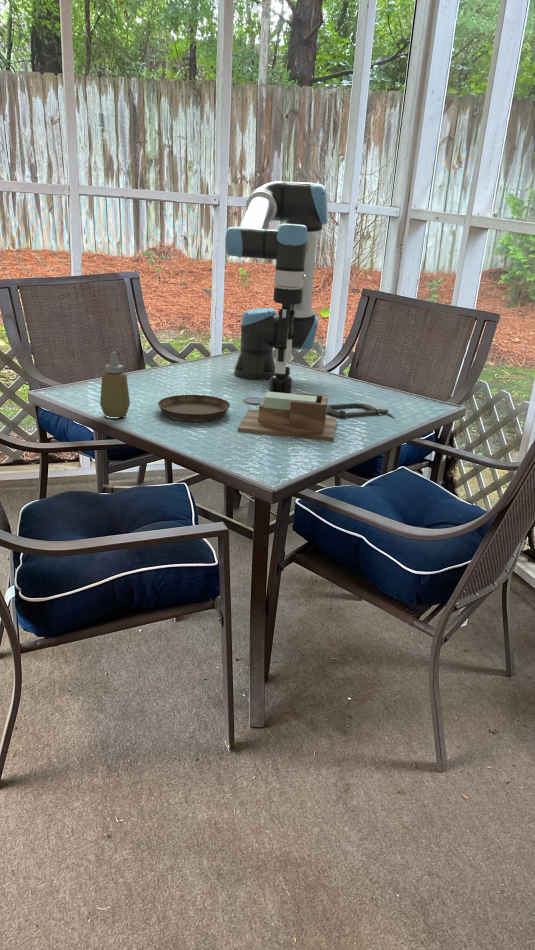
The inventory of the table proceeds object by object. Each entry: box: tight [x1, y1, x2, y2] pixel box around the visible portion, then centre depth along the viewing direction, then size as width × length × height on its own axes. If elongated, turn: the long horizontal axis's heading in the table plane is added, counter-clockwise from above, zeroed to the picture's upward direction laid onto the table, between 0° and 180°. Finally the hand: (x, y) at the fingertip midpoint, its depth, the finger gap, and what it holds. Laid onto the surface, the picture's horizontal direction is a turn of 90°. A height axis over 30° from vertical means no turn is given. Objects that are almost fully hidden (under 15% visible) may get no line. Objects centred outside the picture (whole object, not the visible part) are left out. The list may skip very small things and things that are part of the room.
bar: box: [263, 391, 317, 410], centre depth 184 cm, size 6×14×3 cm, turn 82°
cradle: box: [237, 391, 337, 442], centre depth 185 cm, size 18×26×8 cm
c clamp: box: [326, 402, 396, 420], centre depth 202 cm, size 20×17×3 cm
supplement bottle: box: [268, 366, 293, 394], centre depth 203 cm, size 7×7×12 cm
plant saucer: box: [157, 394, 231, 423], centre depth 192 cm, size 21×21×3 cm
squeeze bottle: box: [99, 351, 131, 418], centre depth 182 cm, size 8×8×18 cm
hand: (282, 367), depth 181 cm, fingers open, 13 cm apart
